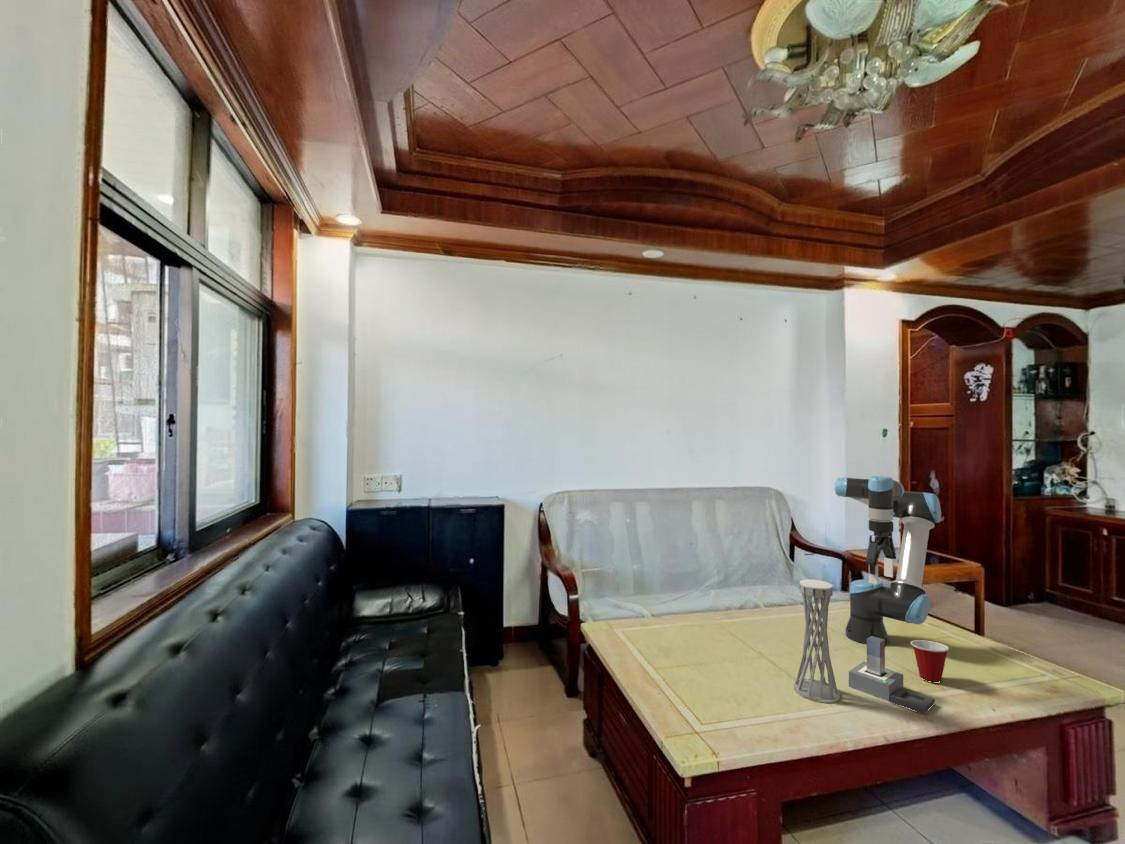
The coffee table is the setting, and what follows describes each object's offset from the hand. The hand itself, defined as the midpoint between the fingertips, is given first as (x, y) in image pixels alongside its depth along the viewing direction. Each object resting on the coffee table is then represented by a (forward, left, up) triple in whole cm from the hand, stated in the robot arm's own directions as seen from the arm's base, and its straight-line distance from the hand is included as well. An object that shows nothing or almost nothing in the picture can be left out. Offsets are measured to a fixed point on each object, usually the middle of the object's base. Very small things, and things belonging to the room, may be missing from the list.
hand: (881, 580), depth 184 cm
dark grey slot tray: (+15, -18, -32) cm, 39 cm away
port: (+4, -16, -32) cm, 36 cm away
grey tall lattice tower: (-7, -34, -32) cm, 47 cm away
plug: (+4, -16, -31) cm, 35 cm away
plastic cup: (+13, +5, -32) cm, 35 cm away
